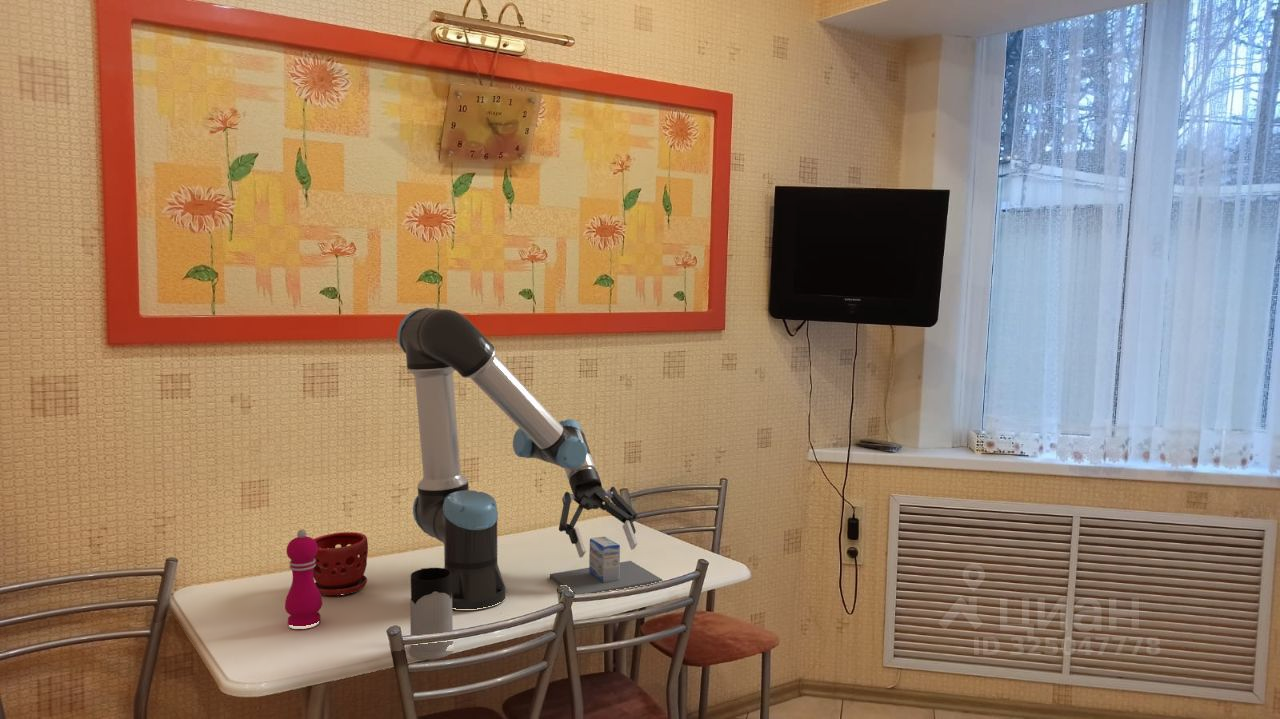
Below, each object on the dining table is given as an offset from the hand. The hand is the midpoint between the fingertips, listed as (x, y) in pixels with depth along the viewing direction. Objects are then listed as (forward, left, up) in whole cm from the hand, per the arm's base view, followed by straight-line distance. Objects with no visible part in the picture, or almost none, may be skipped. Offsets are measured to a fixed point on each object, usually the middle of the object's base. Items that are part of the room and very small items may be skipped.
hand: (609, 550), depth 207 cm
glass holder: (-47, -16, -8) cm, 50 cm away
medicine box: (0, +1, -7) cm, 7 cm away
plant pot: (-57, +24, -8) cm, 63 cm away
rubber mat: (0, +1, -8) cm, 8 cm away
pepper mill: (-67, +6, -8) cm, 68 cm away
